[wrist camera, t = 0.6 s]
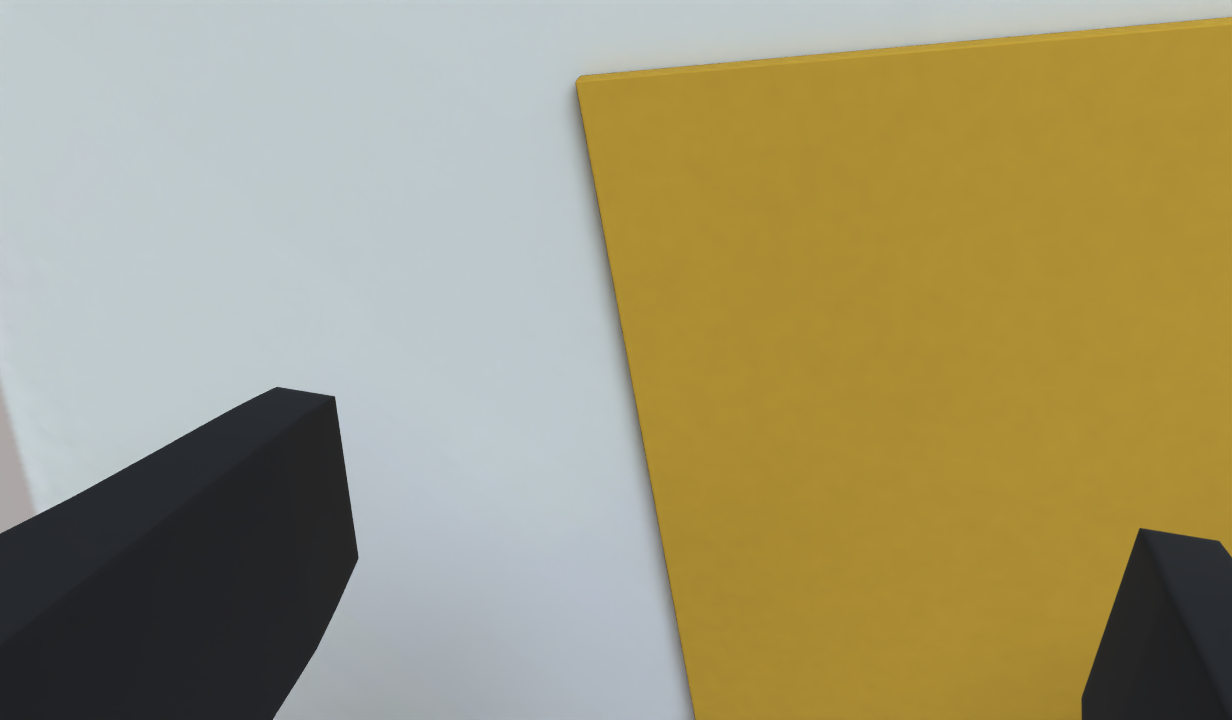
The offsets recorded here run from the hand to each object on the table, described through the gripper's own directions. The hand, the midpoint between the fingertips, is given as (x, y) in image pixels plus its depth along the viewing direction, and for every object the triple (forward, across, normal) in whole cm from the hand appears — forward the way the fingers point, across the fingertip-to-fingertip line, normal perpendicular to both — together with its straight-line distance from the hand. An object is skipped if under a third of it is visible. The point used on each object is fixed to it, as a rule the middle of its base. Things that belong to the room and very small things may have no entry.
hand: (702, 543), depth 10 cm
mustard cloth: (+10, -3, +6) cm, 12 cm away
